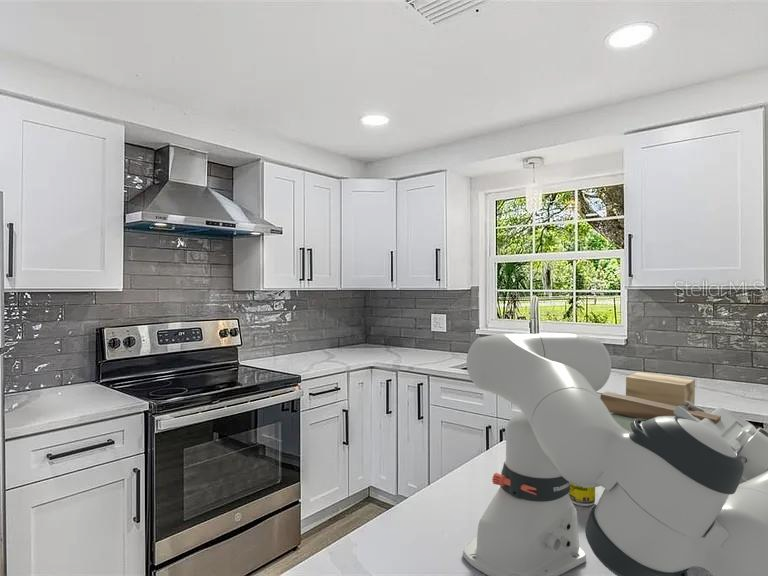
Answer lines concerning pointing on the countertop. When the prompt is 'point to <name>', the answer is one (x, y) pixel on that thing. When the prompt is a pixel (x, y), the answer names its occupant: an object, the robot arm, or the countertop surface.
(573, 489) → the supplement bottle
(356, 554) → the countertop surface
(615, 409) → the batten
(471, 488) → the countertop surface
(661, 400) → the stand
